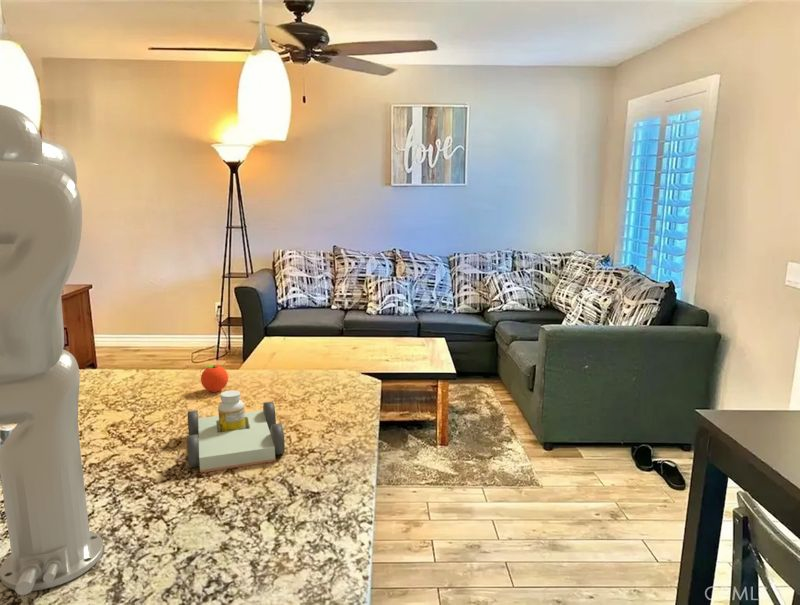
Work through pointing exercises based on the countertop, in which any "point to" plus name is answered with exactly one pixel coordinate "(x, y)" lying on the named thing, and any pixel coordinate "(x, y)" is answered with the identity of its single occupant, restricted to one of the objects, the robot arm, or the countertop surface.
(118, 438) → the countertop surface
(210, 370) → the tomato
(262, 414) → the chassis
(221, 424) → the supplement bottle
